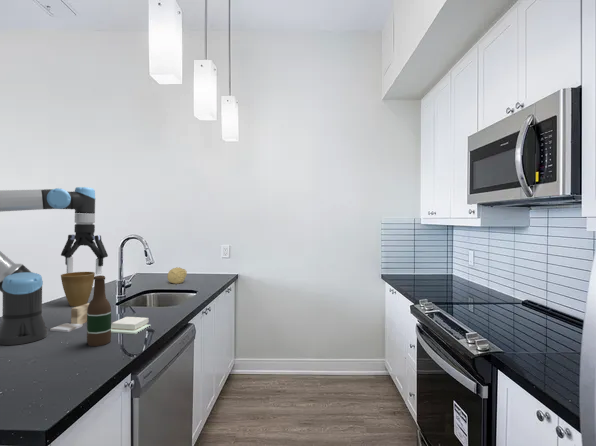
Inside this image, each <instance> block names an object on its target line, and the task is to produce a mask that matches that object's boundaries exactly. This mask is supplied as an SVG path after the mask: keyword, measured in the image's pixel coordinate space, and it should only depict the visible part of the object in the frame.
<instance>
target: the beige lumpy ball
mask: <svg viewBox="0 0 596 446" xmlns="http://www.w3.org/2000/svg"><path fill="white" fill-rule="evenodd" d="M187 273H188V272H187V270H186V269H185V268H182V267H178V266H177V267H173V268H172V269H169V271H168V273H167V281H168V282H169V283H172V284H177V285H178V284H182V283H184V281H185V279H186V277H187V275H188V274H187Z"/></svg>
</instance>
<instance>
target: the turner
mask: <svg viewBox="0 0 596 446" xmlns="http://www.w3.org/2000/svg"><path fill="white" fill-rule="evenodd" d="M89 303H90V302H87V304H84V305H81V306H77V307H71V308H70V309H71V310H70V313H71V315H70V319H71V320H70V323H68V322H66V323H63V324H59V325H57V326H54V327H51V328H49V332H61V333H63V332H64V333H69V332H71V331H75V330H76V329H80V328H82V327H83V326H84V324H85V323H86V324H87V309H88V306H89Z"/></svg>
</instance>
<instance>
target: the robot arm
mask: <svg viewBox="0 0 596 446" xmlns="http://www.w3.org/2000/svg"><path fill="white" fill-rule="evenodd" d="M37 210H38V211H39V210H74V223H75V224H74V229H73V230H74V233H75V234H68V235H67V240H66V242H65V244H64V247H63V249H62V250H61V254H60V256H61V257H64V258H65V260H64V261H65V266H66V273H73V272H74V257H73V255H74V254H75V252H76V251H77V250H78V249H79V248H80V246H85V247H86V246H87V247H89V249H90V250H91V251H92V253H93V254H94V255H95V256H96V258H95V275H101V274H102V272H103V271H102V267H103V266H104V259H105V258H107V257H108V256H109V255H108V252H107V251H106V247H105V245H104V243H103V241H102V235H99V234H98V235H95V232H96V225H95V224H94V223H95V222H96V190H95V189H94V188H93V187H85V186H84V187H83V186H79V187H78V186H77V187H75V188H74V190H73V191H67V190H66V189H63V188H59V187H58V188H52V189H48V188H46V189H11V190H10V189H8V190H7V189H5V190H4V189H3V190H0V213H1V212H18V211H20V212H21V211H37ZM43 282H44V281H43V277H42V275H41V274H40V273H37V272H36V273H35V272H34V271H31V270H30V269H28V267H27V266H25V265H24V264H23V263H16V262H14V261H12V260H11V259H10V258H9V257H8V256H6V255H5V254H4V253H3V251H1V250H0V292H1V293H2V316H1V317H2V319H1V323H0V345H2V346H15V345H22V344H28V343H33V342H37V341H40V340H43V339H44V338H46V337H47V336H48V327H47V326H46V324H45V319H44V318H43V285H44V284H43Z"/></svg>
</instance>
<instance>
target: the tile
mask: <svg viewBox="0 0 596 446" xmlns="http://www.w3.org/2000/svg"><path fill="white" fill-rule="evenodd" d="M148 323H149V317H142V316H141V317H137V316H124V317H123V318H120V319H118V320H115V321H113V322H111V328H113V329H124V330H136V329H138V328H140V327H142V326H144V325H146V324H148Z"/></svg>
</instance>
